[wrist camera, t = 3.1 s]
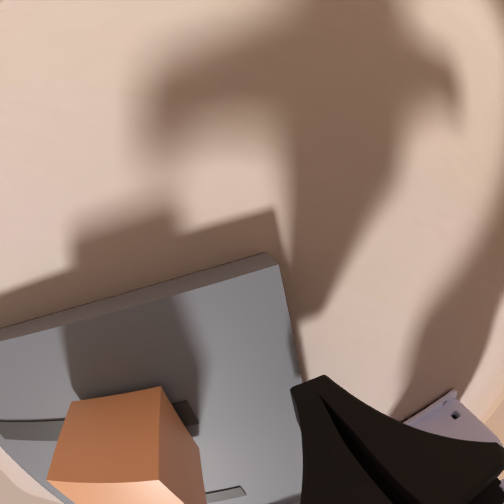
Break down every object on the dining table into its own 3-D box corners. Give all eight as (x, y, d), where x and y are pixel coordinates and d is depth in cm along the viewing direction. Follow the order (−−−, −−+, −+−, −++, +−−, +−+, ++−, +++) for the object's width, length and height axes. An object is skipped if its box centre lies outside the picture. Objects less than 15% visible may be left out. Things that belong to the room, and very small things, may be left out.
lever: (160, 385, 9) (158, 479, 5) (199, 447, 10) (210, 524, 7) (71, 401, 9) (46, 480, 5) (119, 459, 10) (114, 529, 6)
